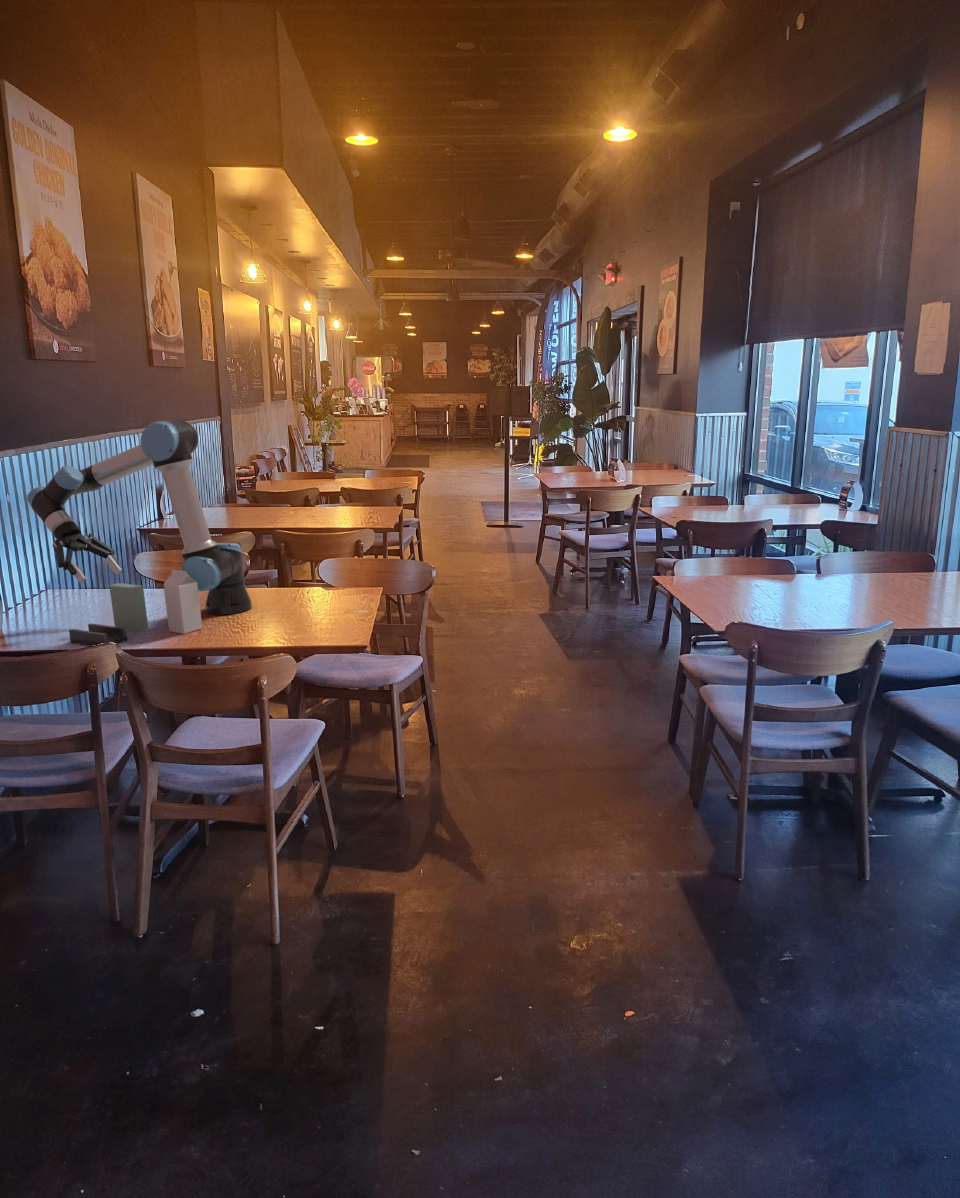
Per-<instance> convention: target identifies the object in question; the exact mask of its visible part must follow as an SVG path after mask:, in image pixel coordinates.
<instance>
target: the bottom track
mask: <svg viewBox="0 0 960 1198" xmlns="http://www.w3.org/2000/svg"><path fill="white" fill-rule="evenodd" d="M87 626H88V627H87V628H88V630H82V629H76V628H70V629H69V630H68V633H69V640H70V641H69V642H70V643H71V642H72V643H71V644H76V643H80V644H79V645H83V646H91V647H93V646H92V645H98V644H101V643H109V642H114V643H117V644H116V645H119V644H122V643H125V642H128V636H127V630H126V628H121V627H115V625H106V624H98V623H88V624H87Z"/></svg>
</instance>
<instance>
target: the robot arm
mask: <svg viewBox="0 0 960 1198" xmlns="http://www.w3.org/2000/svg"><path fill="white" fill-rule="evenodd" d="M198 445H199V434H198V431H197V429H196V427H194V425H192V424H191V423H190V422H187V421H185V420H181V419H172V420H158V421H156V422H152V423H150V424H149V425H147V426H145V428H144V429H143V431H142V433H141V435H140V444H138V445H136V446H134V447H131V448H129V449H126V450H124V451H122V452H119V453H117V454H115V455H112V456H111V457H108V458H106V459H105V458H104V460H103V459H102V460H101V461H99V462H97V463H95V464H92V465H90V466H87V467H85V468H83V469H82V468H81V469H79V470H78V468H76V467H74V466H70V465H63V466H62V467H61V468H60V469H59V470H57V471H56V473H55V474H54V476H53V477H52V478H51V480H50V481H49V482H48V483H47V484H46V485H45V486H41V485H40V486H38V487H35V488H33V489H32V490H30V491H29V492H28V494H27V496H26V501H27V503H28V504H29V505H30V507H31V510H33V512H35V514H36V515H37V516H38V517H39V518H40V519H41V521H42V523H43V524H44V525H45V527H47V529H48V530H49V531H50V533H51V534H53V537H54V538H55V540H54V542H53V543H52V547H53V549H54V552H55V557H56V563H57V567H58V568H59V569H62V568H63V569H62V570H64V571H68V572H69V573H70V574H71V576H74V577H75V579H76V580H77V582H79V584H80V585H83V584H84V582H85V581H86V579H87V577H86V576H85V575H84V573H83V572H82V571H81V569H80V568H79V567H78V566H77V565H76V563H75V562H72V560H73V553H76V552H79V551H80V552H82V551H85V552H88V553H89V552H90V553H91V554H94V555H96V556H98V557H101V558H102V559H104V562H105V563H106V564H107V565H108V567H109V568H110V569H111V570H112V571H113V573H114V574H115V575H116V576H119V575H120V573H121V572H122V570H123V569H122V568H121V566H120V565H118V561H117V560H116V559H115V557H114V555H115V553H116V550H115V549H113V548H112V547H110V546H108V545H107V544H106V543H105V542H102V541H101V540H99V539H98V538H96V536H94V535H93V534H92V533H91V532H90V533H89V534H87V535H84V534H82V531H81V528H79V526H78V525H77V523H76V522H74V520H73V518H72V517H71V516H70V515H69V514H68V512H67V511H66V509H65V508H63V507H64V505H65V504H66V503H67V502H68V500H69V499H70V498H71V497H72V496H74V495H78V494H83V493H89V492H96V491H98V490H100V489H102V488H103V486H106V485H109V484H111V483H114V482H116V481H119V480H120V479H122V478H125V477H128V476H130V475H132V474H135V473H137V472H139V471H141V470H143V469H146V468H148V467H152V466H153V468H154V470H156V471H158V472H159V473H161V474H162V475H161V476H162V479H163V482H164V485H165V489H166V492H167V494H168V498H169V502H170V504H171V507H172V511H173V514H174V518H175V520H176V525H177V527H178V530H179V533H180V537H181V539H182V543H183V546H184V547H183V549H182V551H181V553H180V554H181V557H182V561H183V563H182V565H181V568H180V571H184V572H187V574H188V575H189V576H190V578H192V579H193V580H195V581H196V582H197V586H198V592H206V591H208V593H207V598H206V601H205V612H206V613H208V614H210V615H218V616H219V615H220V616H222V615H234V614H239V613H240V614H241V613H245V612H246V611H249V610H251V609H252V608H253V605H252V600H251V597H250V595H249V592H248V590H247V588H246V584H245V575H244V566H243V552H242V549H241V548H242V547H241V545H240V544H239V543H236V542H216V540H215V541H214V540H213V539H212V537H211V533H210V530H209V527H208V523H207V521H206V517H205V515H204V510H203V507H202V504H201V499H200V497H199V495H198V490H197V487H196V484H195V481H194V477H193V474H192V470H191V467H190V466H191V463H192V462H193V458H192V454H193V453H194V452H195V451H196V449H197V448H198ZM63 547H64V548H66V552H65V554H66V555H65V554H64V550H63ZM64 555H65V556H64Z"/></svg>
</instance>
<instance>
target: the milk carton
mask: <svg viewBox="0 0 960 1198" xmlns="http://www.w3.org/2000/svg"><path fill="white" fill-rule="evenodd" d="M170 571H171V574H170V575H169V576H168V578H167V579H166V580H165V582H164V583H163V589H164V590H163V591H164V600H165V607H166V614H167V624H168V631H169V632H172V633H176V634H177V633H178V634H182V635H185V634H188V633H191V632H195V631H197V630H201V629H203V625H202V615H201V614H202V613H201V605H200V596H199V595H200V594H199V591H198V586H197V582H196V581H195V580H193V579H192V578H190V576H189V575H188V574H187V572H184V571H181V570H177V569H176V570H175V569H171V570H170Z"/></svg>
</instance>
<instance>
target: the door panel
mask: <svg viewBox="0 0 960 1198" xmlns="http://www.w3.org/2000/svg"><path fill="white" fill-rule="evenodd" d="M109 594H110V602H111V608H112V616H113V621H114V622H113V624H114V627H121V628H126V631H132V632H133V631H134V632H138V631H139V633H140V632H142V631H146V630H149V622H148V616H147V614H148V613H147V608H146V606H147V605H146V598H145V591H144V586H143V585H140V584H139V585H138V584H128V583H122V582H121V583H120V582H118V583H114V584H110V585H109ZM145 629H146V630H145Z"/></svg>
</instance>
